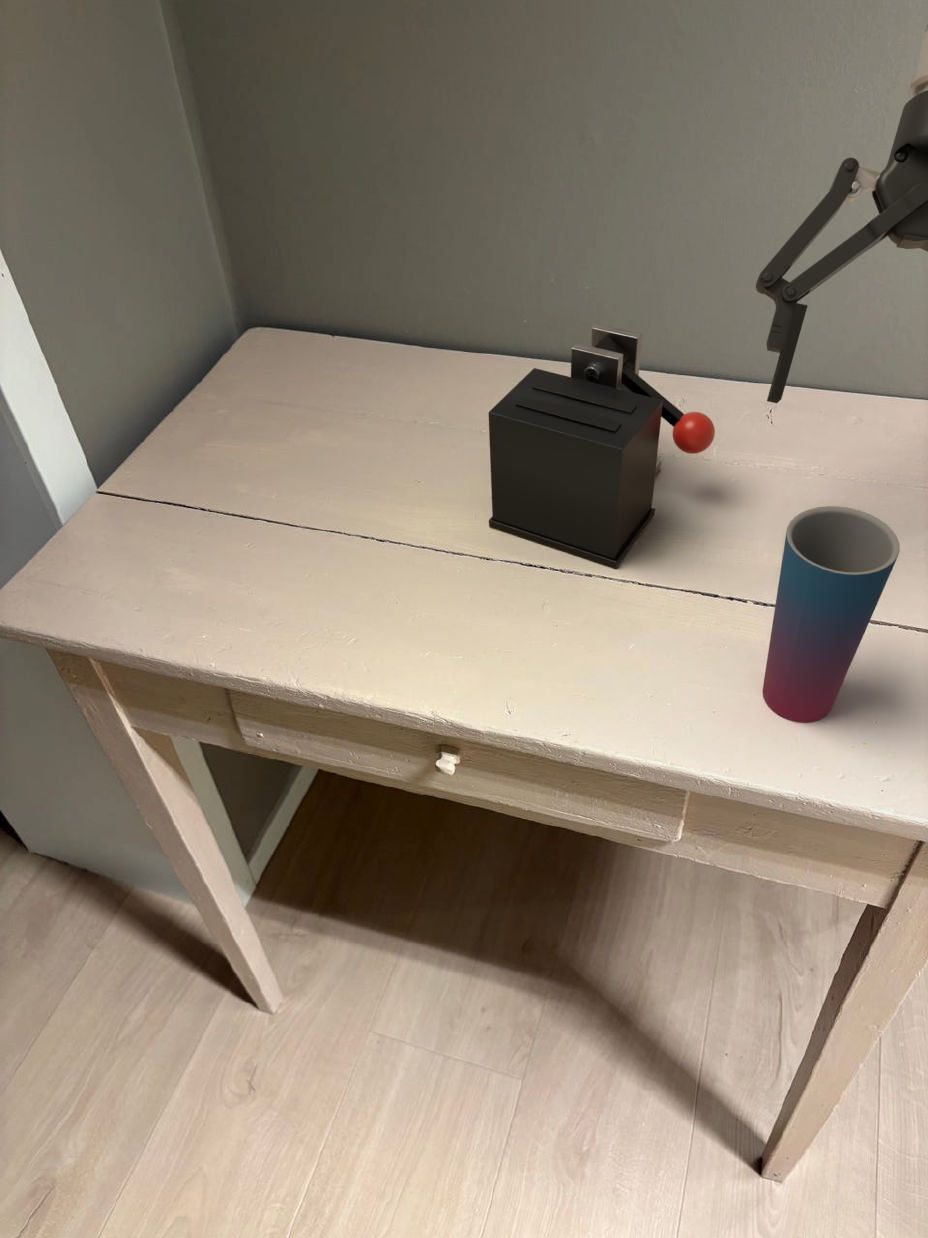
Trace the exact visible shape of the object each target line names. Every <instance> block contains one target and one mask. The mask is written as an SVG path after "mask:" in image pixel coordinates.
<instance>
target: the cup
mask: <svg viewBox="0 0 928 1238" xmlns="http://www.w3.org/2000/svg"><path fill="white" fill-rule="evenodd" d="M787 525H788V526H787V527H786V532H785V539H784V546H783V553H782V560H781V566H780V571H779V572H780V573H779V579H778V584H777V591H776V598H775V606H774V611H773V617H772V625H771V631H770V638H769V643H768V651H767V658H766V664H765V672H764V678H763V685H762V691H761V692H762V697H763V700H764V702H765V703H766V705H767V706H768V708H769V709H770V710H772V712H774V713H775V714H776V715H778V716H780V717H782V718H784V719H787V720H789V721H792V722H796V723H797V722H798V723H810V722H815V721H819V720H822V719H823V718H825V717H826V716H827V715H828V714H829V713H830V712H831V710H832V708H833V706H834V704H835V702H836V699H837V697H838V696H839V692H840V690H841V688H842V685H843V683H844V681H845V679H846V676H847V674H848V672H849V670H850V668H851V665H852V663H853V661H854V658H855V656H856V653H857V652H858V649H859V648H860V647H859V646H860V645H861V642H862V640H863V638H864V635H865V633H866V631H867V628H868V626H869V624H870V621H871V619H872V617H873V615H874V612H875V610H876V608H877V605H878V603H879V601H880V598H881V596H882V594H883V591H884V590H885V587H886V585H887V583H888V580H889V578H890V575H891V573H892V571H893V569H894V565H895V564H896V562H897V559H898V557H899V554H900V552H901V551H900V548H901V547H900V541H899V539H898V535H896V533H895V532H894V530H893V529H892V528H891V527H890V526H889V525H888V524H887V523H885V522H884V521H882V520H881V519H880V518H878V517H876V516H874V515H872V514H870V513H867V512H866V511H863V510H859V509H856V508H853V507H845V506H839V505H837V506H835V505H834V506H833V505H827V506H817V507H812V508H809V509H807V510H804V511H802V512H800V513H799V514H797V515H795V516H794V517H793V518H792V519H791V520H790V522H789V523H788V524H787Z"/></svg>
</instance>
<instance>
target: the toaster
mask: <svg viewBox="0 0 928 1238" xmlns="http://www.w3.org/2000/svg"><path fill="white" fill-rule="evenodd" d="M662 405H663V400H660V399H656V398H652V397H648V396H644V395H640V394H636V393H632V392H628V391H624V390H620V389H616V388H612V387H608V386H604V385H600V384H596V383H592V382H588V381H584V380H580V379H576V378H572V377H571V376H568V375H564V374H560V373H556V372H552V371H548V370H543V369H540V368H536V367H533V368H532V369H531V371H529V372H528V374H526V375H524V377H523V378H522V379H521V380H520V381H519V382H518V383H517V384H516V385H515V386H514V387H512V389H511V390H509V392H508V393H506V394H505V396H503V398H501V400H499V401H498V402H497V403H496V404H495V405H494V406H493V407H492V408H491V409H490V410H489V411H488V413H487V415H488V434H489V435H488V436H489V439H488V440H489V460H490V482H491V483H490V486H491V487H490V489H491V512H492V513H491V514H492V516H491V517H490V518H489V519H488V527H489V528H491V529H494V530H497V531H501V532H504V533H506V534H509V535H513V536H516V537H518V538H522V539H524V540H528V541H531V542H534V543H535V544H540V545H542V546H546V547H548V548H552V549H555V550H557V551H561V552H563V553H566V554H568V555H569V554H570V555H573V556H575V557H578V558H581V559H584V560H587V561H590V562H593V563H595V564H599V565H603V566H605V567H609V568H611V569H614V570H617V568H618V567H619V566H620V564H621V563H622V562H623V560H624V559H625V557H626V556H627V555H628V553H629V552H630V550H631V549H632V548H633V546H634V545H635V543H636V542H637V541H638V539H639V538H640V537H641V535H642V534H643V532H644V531H645V530H646V528H647V527H648V526H649V524H650V523H651V521H653V519H654V517H655V515H656V508H654V507H653V499H654V488H655V482H656V481H655V480H656V476H655V472H656V462H657V459H658V452H659V442H660V434H661V433H660V432H661V422H662V417H661V415H662Z"/></svg>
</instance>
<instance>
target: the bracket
mask: <svg viewBox="0 0 928 1238" xmlns="http://www.w3.org/2000/svg"><path fill="white" fill-rule="evenodd" d="M605 335H607V336H608V337H610V338H611V339H612V340H613V341H614V342H615V343H617V344H618V345H619V346H620V347H621V348H623V349H624V350H625V351H626V352H627V353H629V354H630V356H629V358H628V359H627V360H626V361H625V363H624V364H625V365H626V366H628V367H629V368H630V369H631V370H632V371H633V372H635V373H636V374H637V375H638V376H639V377H640V374H639V373H640V367H641V366H640V365H641V354H642V353H641V352H642V341H643V333H642V332H638V331H633V330H629V329H624V328H621V327H615V326H612V325H611V326H610V325H606V324H601V323H595V324H594V325H593V326H592V327H591V341H590V342H591V343H590V345H587V344H582V343H578V342H576V343H574V345H573V346H572V347H571V350H570V351H571V355H570V377H572V378H576V379H580V380H584V381H588V382H592V383H596V384H600V385H604V386H608V387H612V388H616V389H620V390H624V391H628V392H631V391H630V390H629V389H628V388H627V387H625V386H624V385H623V384H622V383H621V379H622V364H623V354H621V353H617V352H612V351H608V350H604V349H600V348H595V347H594V346H595V345H596V344H597V343H598V342H599V341H600V340H601V339H602V338H603V337H604V336H605ZM632 393H633V392H632ZM661 467H662V459H660V458H657V462H656V472H655V477H657V475H658V473H659V472H660V471H661V469H662V468H661Z"/></svg>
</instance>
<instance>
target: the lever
mask: <svg viewBox="0 0 928 1238" xmlns="http://www.w3.org/2000/svg"><path fill="white" fill-rule="evenodd" d="M594 347H595V348H600V349H604V350H608V351H612V352H617V353H621V354H623V364H622V379H621V383H622V384H623V385H624V386H625V387H627V388H628V389H629V390H630V391H631V392H633V393H636V394H640V395H644V396H648V397H652V398H656V399H660V400H663V405H662V415H661V419H663V420H665V422H667V423H668V424H669V425H671V426H672V427H673V428H672V439H673V442H674V445H675V446H676V447H677V448H678V449H679V450H680V451H681V452H684V453H686V454H690V455H691V454H693V455H696V454H699V453H702V452H705V451H706V450H707V449H708V448H709V447H710V446H711V445H712V443H713V441H714V439H715V434H716V428H715V425H714V423H713V421H712V419H711V418H710V417H709V416H708V415H707V414H705V413H703V412H699V411H690V412H686V413H684V412H682V411H681V410H680V409H679V408H678V407H677V406H675V405H674V404H673V403H672V402H671V401H669V400H668V399H667V398H666V397H664V395H663V394H661V393H660V392H659V391H658V390H656V389H655V388H654V387H653V386H652V385H650V384H649V383H648V382H647V381H645V380H644V379H643V378H642V377H641V376H640V375H639V376H638V375H637V374H636V373H635V372H633V371H632V370H631V369H630V368H629V367H628V366H626V365H625V364H624V363H625V361H626V360H627V359H628V358H629V356H630V354H629V353H627V352H626V351H625V350H624V349H623V348H621V347H620V346H619V345H618V344H617V343H615V342H614V341H613V340H612V339H611V338H610V337H608V336H607V335H605V336H604V337H603V338H602V339H601V340H600V341H599V342H598V343H597V344H596V345H595V346H594Z"/></svg>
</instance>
